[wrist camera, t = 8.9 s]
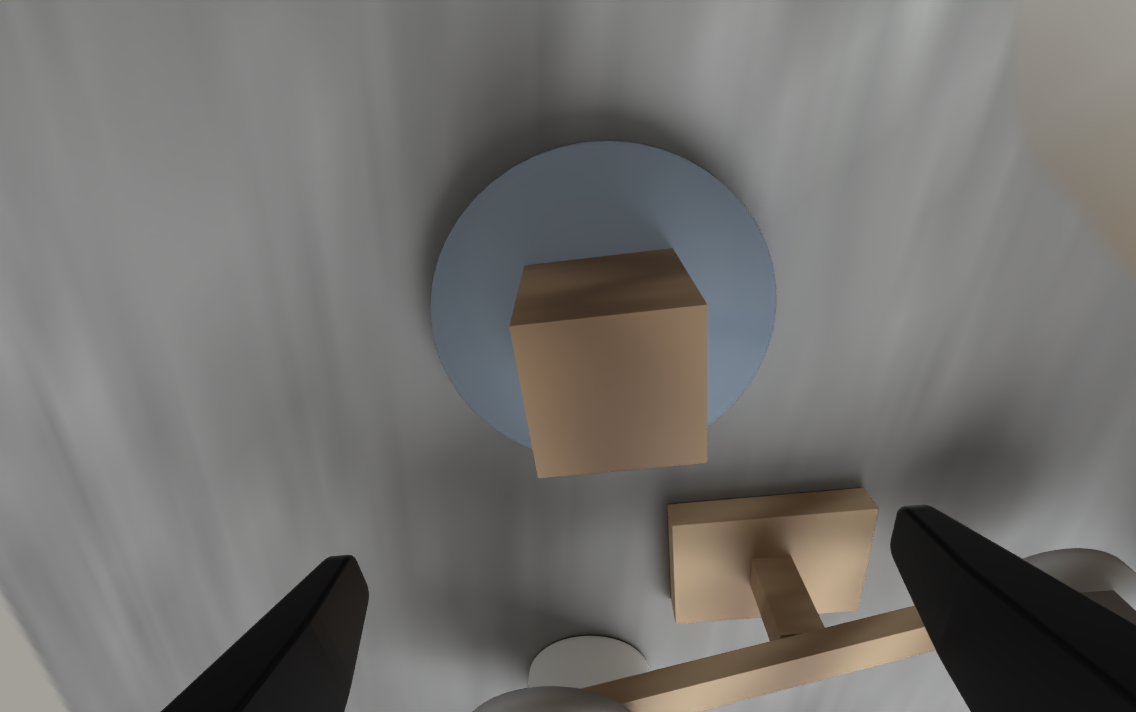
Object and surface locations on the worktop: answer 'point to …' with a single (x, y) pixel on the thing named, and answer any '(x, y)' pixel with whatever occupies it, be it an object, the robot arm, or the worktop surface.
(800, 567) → the balance
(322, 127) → the worktop surface
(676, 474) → the worktop surface
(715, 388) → the dish
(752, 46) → the worktop surface
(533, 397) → the block
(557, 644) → the mug
